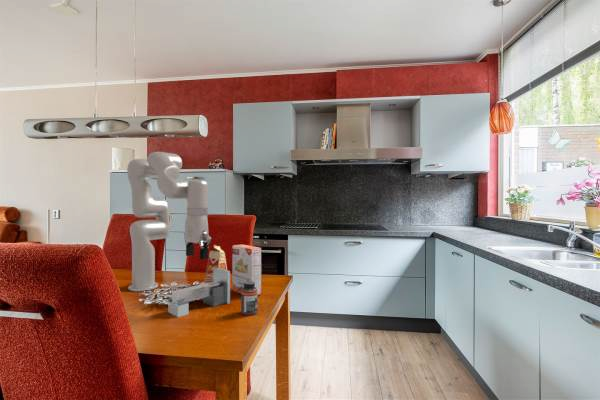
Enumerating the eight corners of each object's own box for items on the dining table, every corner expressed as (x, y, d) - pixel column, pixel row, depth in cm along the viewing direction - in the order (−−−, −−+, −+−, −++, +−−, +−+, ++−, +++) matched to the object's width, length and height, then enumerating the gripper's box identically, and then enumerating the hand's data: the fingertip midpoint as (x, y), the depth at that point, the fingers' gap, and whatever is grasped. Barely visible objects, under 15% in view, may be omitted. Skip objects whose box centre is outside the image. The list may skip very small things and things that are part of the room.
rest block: (168, 312, 115) (168, 298, 115) (178, 309, 118) (178, 296, 118) (178, 317, 111) (178, 303, 111) (188, 314, 114) (188, 300, 114)
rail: (171, 301, 115) (171, 291, 115) (214, 291, 128) (214, 281, 128) (176, 304, 112) (177, 293, 112) (219, 293, 126) (219, 283, 126)
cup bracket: (201, 301, 127) (201, 269, 127) (215, 298, 132) (215, 267, 132) (215, 307, 121) (215, 273, 121) (229, 303, 126) (230, 270, 126)
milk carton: (221, 288, 146) (221, 246, 146) (202, 287, 148) (203, 245, 148) (229, 283, 155) (229, 243, 155) (212, 282, 157) (212, 242, 157)
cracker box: (231, 291, 142) (231, 245, 142) (242, 288, 147) (242, 243, 147) (250, 298, 133) (251, 248, 133) (261, 294, 137) (261, 247, 137)
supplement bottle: (241, 310, 118) (242, 280, 118) (257, 309, 118) (258, 280, 118) (240, 316, 112) (240, 284, 112) (257, 315, 112) (257, 284, 112)
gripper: (176, 211, 123) (176, 255, 123) (200, 214, 112) (200, 261, 112) (194, 211, 129) (193, 253, 129) (218, 213, 117) (218, 259, 117)
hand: (196, 257), depth 120 cm, fingers open, 9 cm apart
